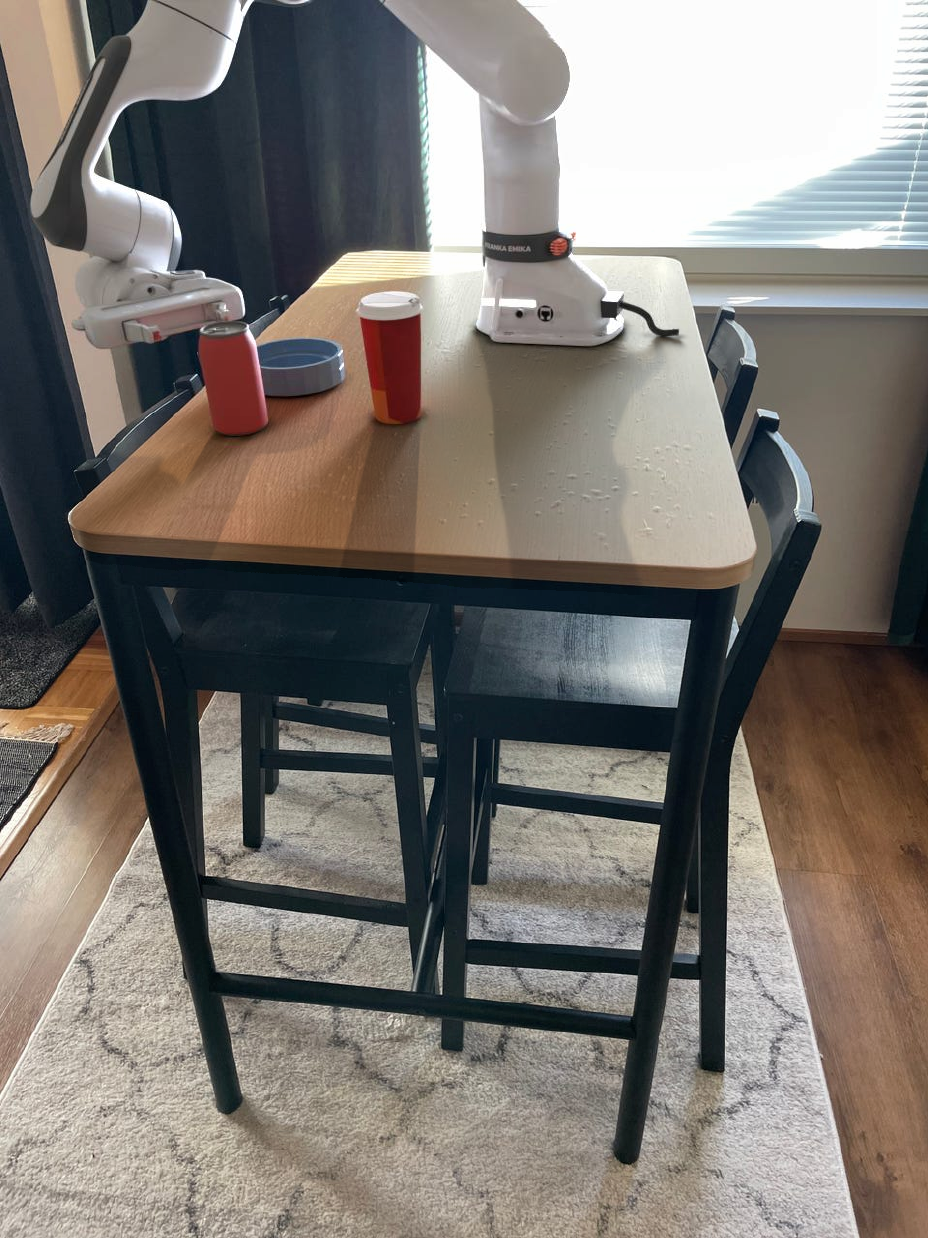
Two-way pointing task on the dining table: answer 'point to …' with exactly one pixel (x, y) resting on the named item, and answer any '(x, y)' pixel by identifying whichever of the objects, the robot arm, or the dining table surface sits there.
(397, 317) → the paper cup
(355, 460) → the dining table surface
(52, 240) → the robot arm
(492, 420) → the dining table surface
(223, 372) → the beer can
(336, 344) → the bowl
